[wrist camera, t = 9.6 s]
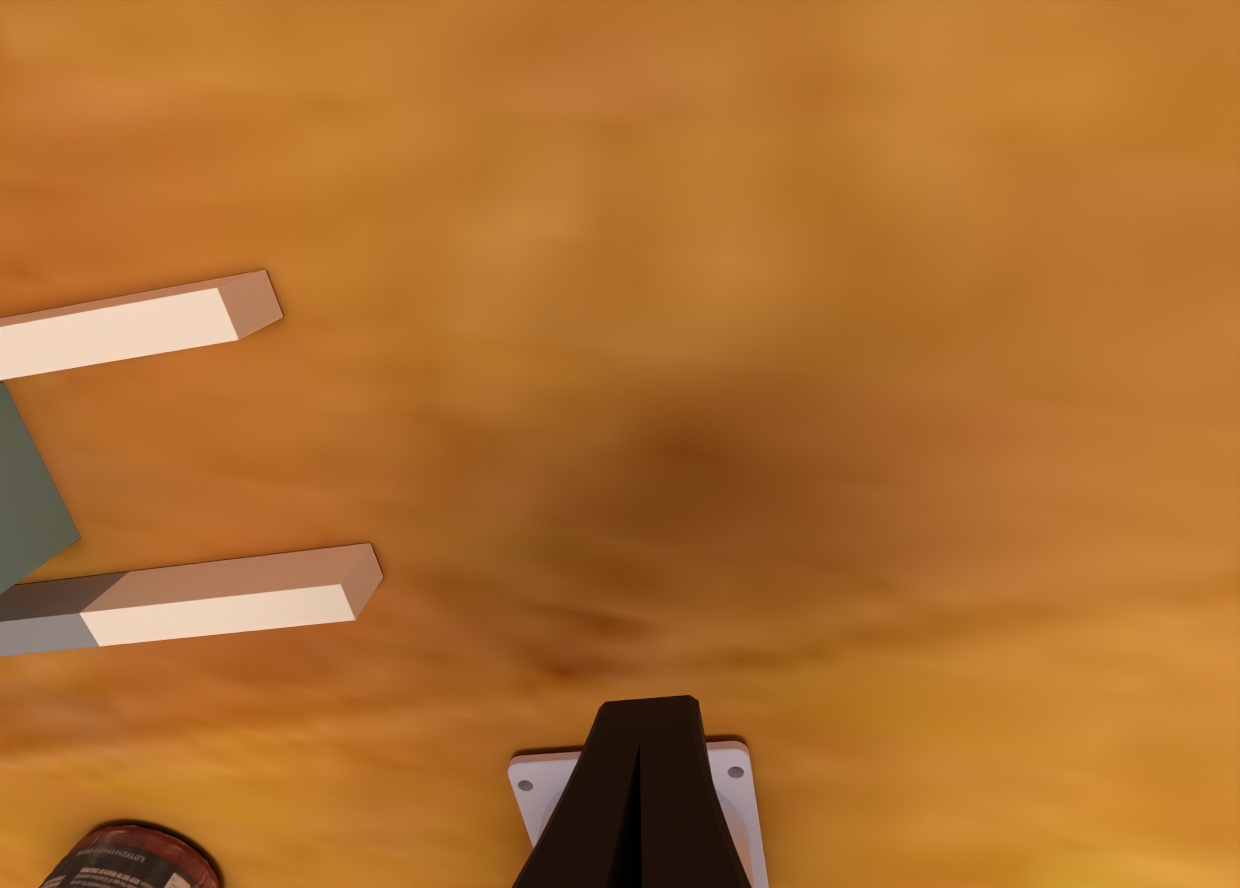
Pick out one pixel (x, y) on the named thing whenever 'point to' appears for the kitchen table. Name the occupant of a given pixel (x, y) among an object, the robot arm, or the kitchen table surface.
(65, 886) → the supplement bottle
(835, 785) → the kitchen table surface
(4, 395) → the block
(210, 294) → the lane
